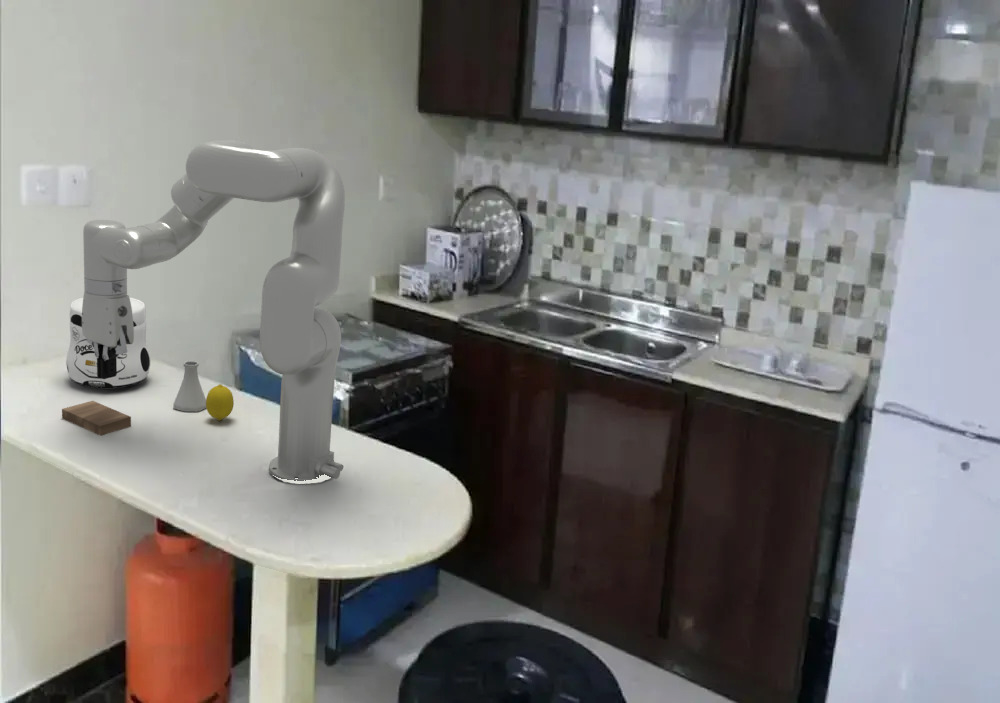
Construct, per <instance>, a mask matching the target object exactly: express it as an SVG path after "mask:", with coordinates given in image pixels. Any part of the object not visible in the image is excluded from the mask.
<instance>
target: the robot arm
mask: <svg viewBox="0 0 1000 703" xmlns="http://www.w3.org/2000/svg"><path fill="white" fill-rule="evenodd" d="M185 171H186V172H185V174H184V175H182V176H181V177H180V179H178V180H177V181H176V182H175V183H174V184H173V185H172V186H171V189H170V195H171V200H172V202H173V204H174V205H173V206H172V207H171V208H170V209H169V210H168V211H167V212H166V213H165V214H163V215H162V216H161V217H160V218H159V219H158V220H156V221H154V222H152V223H147V224H143V225H142V224H141V225H137V226H131V227H126V226H125V224H123V223H122V222H120V221H117V220H110V219H93V220H90V221H88V222H86V223H85V225H84V226H83V230H82V231H83V233H82V234H83V236H82V237H83V239H82V240H83V280H84V282H83V285H84V287H83V288H84V291H83V297H82V298H83V305H82V332H83V335H84V337H86V340H87V342H88V343H90V344H91V345H92V346H93V348H94V352H95V356H96V357H98V358H97V377H99V378H102V379H107V378H111V377H115V376H116V375H117V361H116V358H118V357H119V354H125V353H127V346H126V344H132V343H133V341H134V327H133V315H132V307H131V302H130V298H131V297H130V295H129V294H128V270H139V269H142V268H146V267H150V266H152V265H156V264H159V263H163V262H167V261H170V260H171V259H173V258H175V257H177V256H178V255H180V253H182V252H183V251H185V249H186V248H188V247H189V246H190V245H191V244H192V243H194V242H195V241H196V240H197V239H198V238H199V237H200V236H201V235H202V234H203V232H204V230H205V229H206V227H207V226H208V223H209V221H210V219H212V218H213V217H214V216H215V215H216V214H217V213H219V211H220V210H222V209H223V208H225V207H226V206H227V205H228V204H229V203H230V202H231V201H233V200H234V199H240V200H247V201H253V202H260V203H280V202H285V201H290V200H294V199H298V202H299V203H298V208H297V211H296V214H295V218H294V221H293V226H292V243H291V250H290V251H291V252H290V255H289V257H285V258H284V259H281V260H279V261H277V262H276V263H274V264H273V265H272V266H271V268H269V270H268V272H267V274H266V276H265V277H264V281H263V284H262V293H261V308H260V329H259V348H260V349H259V350H260V353H261V356H262V358H263V361H264V362H265V364H266V366H268V368H269V369H271V370H272V371H273V372H274V373H277V374H280V375H281V384H280V388H281V389H280V403H279V427H278V428H279V429H278V448H277V449H278V451H277V456H276V457H274V458H273V459H272V460H271V461H269V464H268V472H269V471H270V472H269V474H270V473H271V474H272V475H274V476H276V477H278V478H281V479H287V480H294V481H296V480H297V481H304V480H305V481H306V480H312V479H317V478H316V477H318V478H319V475H320V476H321V475H324V474H325V475H327V476H329V477H331V479H334V480H337V479H338V478H339V477H340V475H341V472H342V471H343V470H344V465H343V464H341V463H340V462H335V452H333V451H331V437H332V435H331V434H332V422H333V404H334V394H335V393H334V390H335V380H336V379H335V378H336V369H337V363H338V359H339V354H340V349H341V342H342V331H341V328H340V324H339V322H338V320H337V319H336V317H335V316H334V315H333V314H332V313H330V312H329V311H328V310H326V309H323V308H321V307H320V308H319V307H317V306H319V305H321V304H322V305H323V303H326V302H327V301H329V300H330V299H332V298H333V296H335V294H336V293H337V291H338V288H339V282H340V274H341V273H340V271H341V258H342V245H343V244H342V243H343V242H342V241H343V227H344V226H343V225H344V217H345V216H344V215H345V205H346V195H345V194H346V193H345V188H344V187H345V186H344V182H343V179H342V176H341V175H340V173H339V171H338V168H336V167H335V165H334V164H333V162H331V160H330V159H328V158H327V157H326V156H325V155H323V154H322V153H320V152H318V151H316V150H313V149H311V148H306V147H289V148H281V149H274V150H273V149H272V150H263V149H254V147H252V146H251V145H249V143H247V142H244V141H242V140H237V139H226V140H225V139H223V140H222V139H221V140H212V141H210V140H209V141H206V142H202V143H199V144H197V145H196V146H195V147H194V148H193V149H192V150H191V151H190V152H189V154H188V155H187V159H186V162H185ZM129 297H130V298H129ZM110 348H111V349H110ZM271 474H270V475H271ZM272 475H271V476H272ZM295 478H298V479H295Z"/></svg>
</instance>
